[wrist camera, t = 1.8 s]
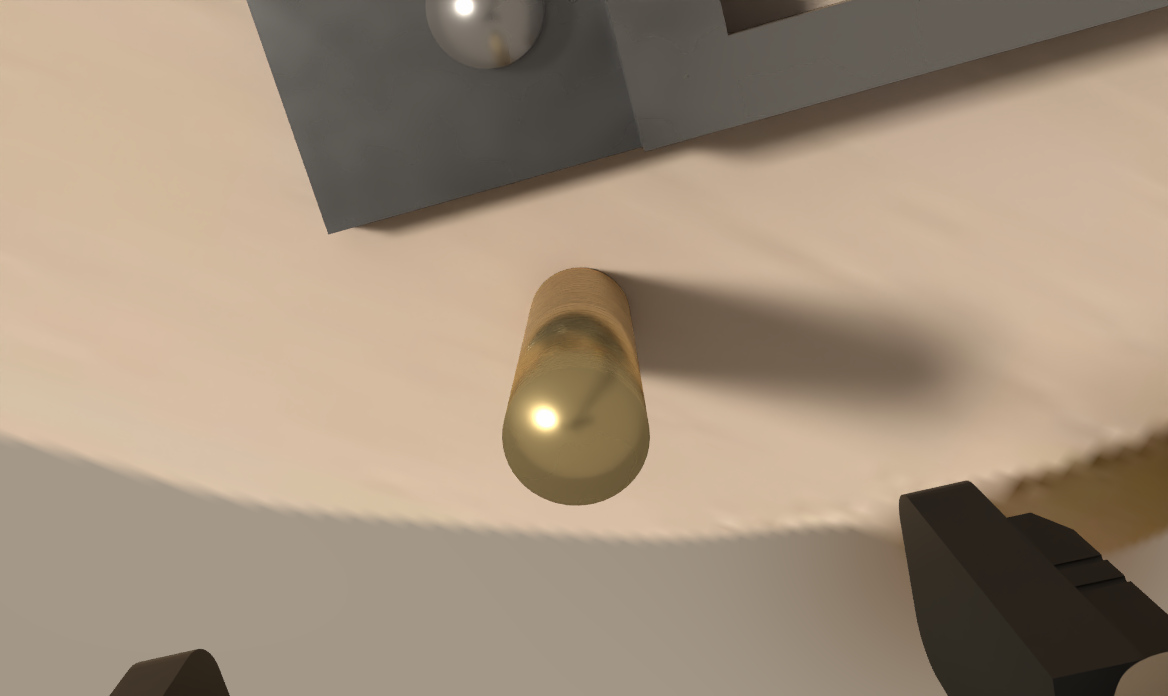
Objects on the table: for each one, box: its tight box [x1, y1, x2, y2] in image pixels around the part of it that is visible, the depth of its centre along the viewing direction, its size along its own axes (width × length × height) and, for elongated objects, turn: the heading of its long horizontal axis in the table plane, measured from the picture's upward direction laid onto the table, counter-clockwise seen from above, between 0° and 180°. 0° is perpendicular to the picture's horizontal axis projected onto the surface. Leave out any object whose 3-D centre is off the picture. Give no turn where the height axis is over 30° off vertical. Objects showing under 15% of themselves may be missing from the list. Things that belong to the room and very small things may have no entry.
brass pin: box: [502, 268, 650, 505], centre depth 25 cm, size 3×3×10 cm
